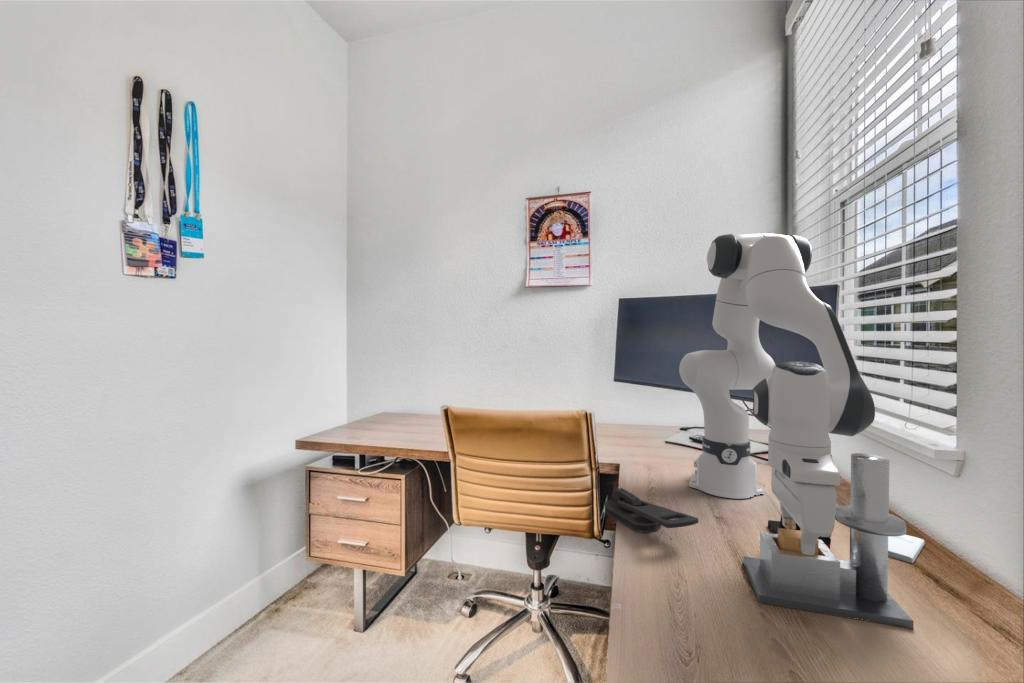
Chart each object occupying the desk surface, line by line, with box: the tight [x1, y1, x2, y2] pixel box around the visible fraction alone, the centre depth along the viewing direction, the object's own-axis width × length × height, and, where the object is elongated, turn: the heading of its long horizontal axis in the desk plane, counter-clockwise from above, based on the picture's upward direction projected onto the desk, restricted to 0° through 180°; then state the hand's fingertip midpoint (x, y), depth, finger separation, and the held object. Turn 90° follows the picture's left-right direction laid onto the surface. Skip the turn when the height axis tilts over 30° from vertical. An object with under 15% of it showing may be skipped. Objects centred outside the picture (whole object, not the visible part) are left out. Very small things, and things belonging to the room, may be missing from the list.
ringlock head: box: [742, 452, 915, 630], centre depth 72 cm, size 13×22×23 cm, turn 72°
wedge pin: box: [778, 528, 819, 555], centre depth 74 cm, size 4×5×8 cm
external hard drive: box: [888, 534, 926, 564], centre depth 89 cm, size 2×8×12 cm
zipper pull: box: [604, 487, 699, 534], centre depth 97 cm, size 9×7×25 cm
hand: (797, 539), depth 74 cm, fingers open, 8 cm apart
